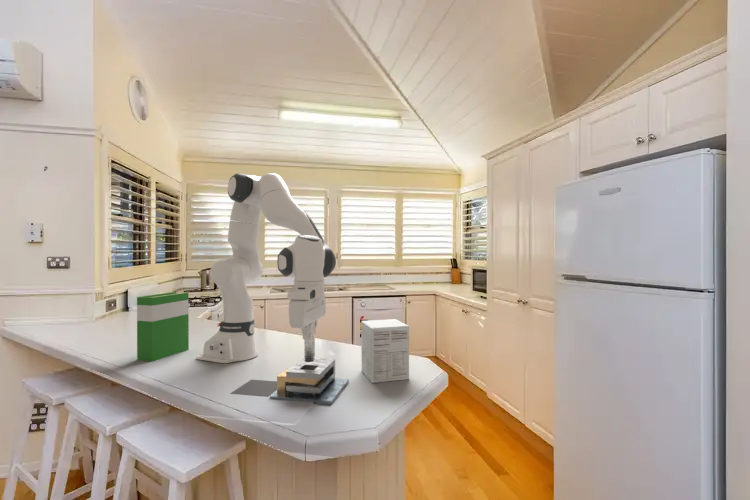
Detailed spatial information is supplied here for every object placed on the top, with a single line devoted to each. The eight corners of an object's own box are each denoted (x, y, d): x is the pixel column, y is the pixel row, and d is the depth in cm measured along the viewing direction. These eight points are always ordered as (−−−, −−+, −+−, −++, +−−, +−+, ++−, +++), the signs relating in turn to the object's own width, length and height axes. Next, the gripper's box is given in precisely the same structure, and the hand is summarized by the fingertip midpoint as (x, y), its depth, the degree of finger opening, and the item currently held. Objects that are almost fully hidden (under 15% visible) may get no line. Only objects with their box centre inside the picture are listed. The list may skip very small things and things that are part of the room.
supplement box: (410, 379, 123) (410, 325, 123) (371, 383, 119) (371, 328, 119) (396, 367, 136) (396, 318, 136) (360, 370, 132) (360, 320, 132)
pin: (302, 361, 111) (302, 313, 111) (306, 358, 114) (306, 312, 114) (312, 362, 110) (312, 314, 110) (316, 359, 113) (316, 312, 113)
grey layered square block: (269, 399, 107) (269, 373, 107) (295, 378, 124) (295, 355, 124) (331, 404, 103) (331, 377, 103) (348, 382, 121) (348, 358, 121)
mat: (229, 394, 110) (229, 393, 110) (251, 380, 122) (251, 379, 122) (268, 398, 108) (268, 396, 108) (286, 383, 120) (286, 382, 120)
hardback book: (174, 348, 162) (174, 291, 162) (188, 349, 160) (188, 292, 160) (137, 359, 145) (137, 296, 145) (152, 361, 143) (151, 297, 143)
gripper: (311, 286, 123) (311, 329, 123) (284, 294, 103) (284, 345, 103) (330, 286, 121) (330, 330, 121) (306, 294, 101) (306, 346, 101)
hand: (309, 337), depth 112 cm, fingers closed on pin, 3 cm apart
